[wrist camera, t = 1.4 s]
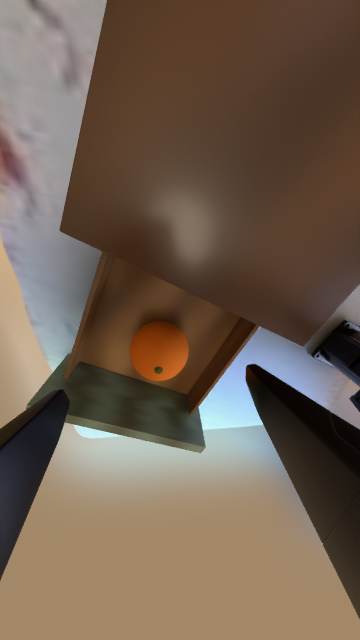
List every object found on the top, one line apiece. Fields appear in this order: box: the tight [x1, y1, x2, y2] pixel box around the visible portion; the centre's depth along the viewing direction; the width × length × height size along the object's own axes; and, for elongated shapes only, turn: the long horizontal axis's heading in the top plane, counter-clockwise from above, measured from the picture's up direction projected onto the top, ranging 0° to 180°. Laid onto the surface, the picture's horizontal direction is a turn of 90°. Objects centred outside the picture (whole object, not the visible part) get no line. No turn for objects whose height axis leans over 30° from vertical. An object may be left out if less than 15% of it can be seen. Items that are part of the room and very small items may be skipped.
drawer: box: [26, 252, 259, 453], centre depth 19 cm, size 18×18×8 cm
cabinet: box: [60, 0, 360, 346], centre depth 13 cm, size 19×17×9 cm
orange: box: [130, 321, 189, 381], centre depth 19 cm, size 6×6×6 cm
